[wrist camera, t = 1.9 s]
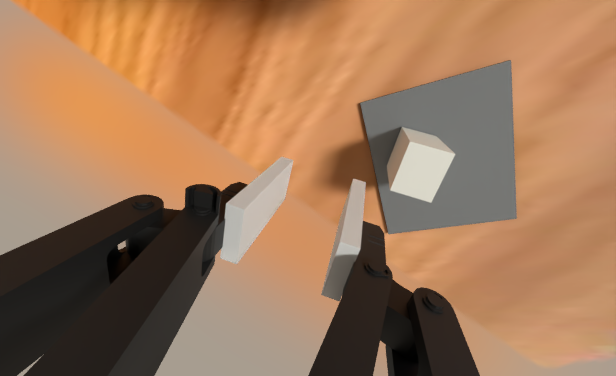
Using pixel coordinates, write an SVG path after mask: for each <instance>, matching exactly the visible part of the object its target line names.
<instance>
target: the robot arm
mask: <svg viewBox="0 0 616 376" xmlns="http://www.w3.org/2000/svg"><path fill="white" fill-rule="evenodd" d="M292 164H293V160H291V159H288V158H284V157H281V158H279V159H278V160H277V161H276V162H275V163H273V164H272V165H271V166H270V167H269V168H268V169H266V170H265V171H264V172H263V173H262V174H260V175H259V176H258V177H257V178H256V179H255V180H253V181H252V182H251V183H250V184H249V185H247V184H244V183H241V182H238V183H234V184H231V185H230V186H228V187H227V188H225V190H223V191H221V192H220V190H219V189H218V188H216V187H214V186H211V185H205V184H196V185H192V186H189V187H187V188H186V193H185V208H184V209H183V210H173V209H165V208H164V204H163V201H162V199H160V198H159V197H156V196H153V195H138V196H133V197H131V198H128V199H126V200H123V201H121V202H119V203H117V204H114V205H112V206H110V207H108V208H105V209H103V210H101V211H99V212H97V213H94V214H92V215H90V216H88V217H85V218H83V219H81V220H78V221H76V222H74V223H72V224H70V225H67V226H65V227H63V228H61V229H58V230H56V231H54V232H52V233H49V234H47V235H45V236H43V237H40V238H38V239H36V240H34V241H31V242H29V243H27V244H25V245H23V246H20V247H18V248H16V249H14V250H12V251H9V252H7V253H5V254H3V255H0V376H17V375H18V374H19V373H21V372H22V371H23V370H24V369H26V368H27V367H28V366H29V365H31V364H32V363H33V362H35V361H36V360H37V359H38V358H39V357H41V356H42V355H43V354H44V355H43V356H42V357H41V358H40V359H39V360H38V361H37V362H36V363H35V364H34V365H33V366H32V367H31V368H30V369H29V371H28V372H27V373H26V374H25V375H24V376H154V375H155V373H156V371H157V370H158V368H159V366H160V364H161V362H162V360H163V358H164V357H165V355H166V353H167V351H168V349H169V347H170V345H171V344H172V342H173V339H174V338H175V336H176V334H177V332H178V331H179V329H180V327H181V325H182V323H183V321H184V319H185V317H186V316H187V314H188V312H189V310H190V308H191V306H192V304H193V303H194V301H195V299H196V297H197V295H198V293H199V291H200V289H201V288H202V286H203V284H204V282H205V280H206V278H207V277H208V275H209V273H210V271H211V269H212V267H213V265H214V262H215V255H216V254H217V253H218V251H219V250H220V249H221V259H224V260H227V261H229V262H232V263H235V264H237V263H238V262H239V261H240V259H241V258H242V256H243V255H244V253H245V252H246V251H247V250H248V248H249V247H250V246H251V244H252V243H253V242H254V240H255V239H256V238H257V236H258V235H259V233H260V232H261V231H262V229H263V228H264V227H265V225H266V224H267V223H268V221H269V220H270V219H271V217H272V216H273V215H274V213H275V212H276V210H277V209H278V208H279V206H280V205H281V204H282V202H283V201H284V200H285V196H286V192H287V187H288V183H289V178H290V173H291V169H292ZM365 187H366V182H363V181H360V180H357V179H354V178H353V181H352V184H351V187H350V190H349V193H348V196H347V199H346V202H345V205H344V208H343V211H342V214H341V217H340V221H339V225H338V229H337V233H336V237H335V242H334V245H333V249H332V254H331V258H330V262H329V266H328V270H327V274H326V279H325V282H324V287H323V290H322V295H324V296H326V297H329V298H332V299H334V300H337V301H340V299H341V296H342V299H341V301H340V303H339V305H338V308H337V310H336V312H335V315H334V317H333V319H332V322H331V324H330V326H329V329H328V331H327V334H326V336H325V338H324V341H323V343H322V345H321V347H320V350H319V352H318V355H317V357H316V359H315V361H314V364H313V366H312V368H311V371H310V373H309V375H308V376H373V372H374V367H375V362H376V357H377V352H378V347H379V342H380V341H382V342H383V343H385V344H386V356H387V367H388V376H480V375H479V372H478V370H477V368H476V365H475V362H474V360H473V357H472V355H471V352H470V350H469V347H468V345H467V342H466V340H465V337H464V335H463V332H462V330H461V327H460V325H459V322H458V319H457V317H456V314H455V312H454V310H453V308H452V306H451V304H450V303H449V302H448V301H447V300H446V299H445V298H444V297H443V296H442V295H440V294H439V293H437V292H435V291H433V290H431V289H428V288H417V289H416V290H415V291H414V293H412V292H410V291H409V290H407V289H405V288H404V287H402V286H400V285H399V284H398V283H396V282H395V281H394V280H393V279H392V278H393V277H392V272H391V270H390V269H389V267H388V266H387V265H386V256H385V241H384V232H383V231H382V229H381V228H380V226H377V225H374V224H371V223H368V222H365V221H363V212H364V200H365ZM123 241H126V247H124V248H123V249H120V250H118V246H117V245H118V244H120V243H121V242H123Z"/></svg>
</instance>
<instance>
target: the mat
mask: <svg viewBox="0 0 616 376" xmlns="http://www.w3.org/2000/svg"><path fill="white" fill-rule="evenodd" d="M360 104H361V109H362V113H363V118H364V123H365V127H366V132H367V137H368V141H369V146H370V151H371V155H372V160H373V165H374V169H375V174H376V178H377V183H378V188H379V192H380V197H381V202H382V206H383V211H384V216H385V220H386V225H387V229H388V234H394V233H402V232H410V231H419V230H427V229H435V228H443V227H452V226H460V225H468V224H476V223H485V222H493V221H501V220H509V219H517V216H516V187H515V159H514V130H513V102H512V73H511V60H509V61H505V62H502V63H498V64H495V65H491V66H488V67H484V68H481V69H477V70H474V71H470V72H467V73H463V74H460V75H456V76H453V77H449V78H446V79H442V80H439V81H435V82H432V83H428V84H424V85H421V86H417V87H414V88H410V89H407V90H403V91H400V92H396V93H393V94H389V95H386V96H382V97H379V98H375V99H372V100H368V101H365V102H361V103H360ZM401 127H405V128H409V129H413V130H416V131H420V132H424V133H427V134H431V135H435V136H437V137H438V138H439V139H440V140H441V141H442V142H443V143H444V144H445V145H446V146H447V147H448V148H450V149H451V150H452V151H453V152H454V153H455V156H454V158H453V160H452V162H451V164H450V166H449V168H448V170H447V172H446V174H445V176H444V178H443V180H442V182H441V184H440V186H439V188H438V190H437V192H436V194H435V196H434V198H433V200H432V202H431V203H430V202H427V201H424V200H420V199H417V198H414V197H410V196H407V195H404V194H401V193H397V192H394V191H391V190H390V187H389V179H388V172H387V163H388V161H389V158H390V155H391V153H392V150H393V148H394V145H395V142H396V140H397V137H398V135H399V132H400V129H401Z"/></svg>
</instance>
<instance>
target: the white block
mask: <svg viewBox="0 0 616 376" xmlns="http://www.w3.org/2000/svg"><path fill="white" fill-rule="evenodd" d="M454 156H455V153H454V152H453V151H452V150H451V149H450V148H448V147H447V146H446V145H445V144H444V143H443V142H442V141H441V140H440V139H439V138H438V137H437V136H435V135H431V134H427V133H424V132H420V131H416V130H413V129H409V128H405V127H401V129H400V132H399V135H398V137H397V140H396V142H395V145H394V148H393V150H392V153H391V155H390V158H389V161H388V163H387V172H388V179H389V187H390V190H391V191H394V192H397V193H401V194H404V195H407V196H410V197H414V198H417V199H420V200H424V201H427V202H430V203H431V202H432V200H433V198H434V196H435V194H436V192H437V190H438V188H439V186H440V184H441V182H442V180H443V178H444V176H445V174H446V172H447V170H448V168H449V166H450V164H451V162H452V160H453V158H454Z"/></svg>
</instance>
